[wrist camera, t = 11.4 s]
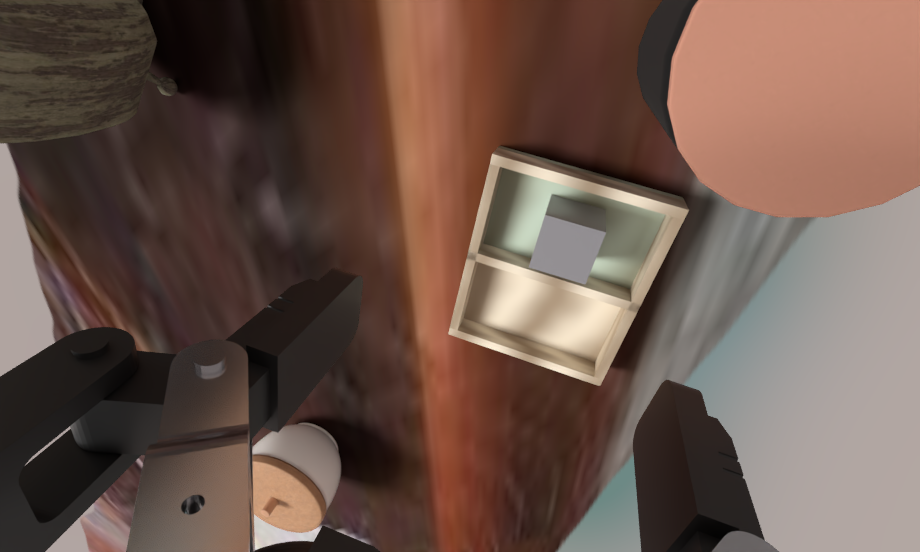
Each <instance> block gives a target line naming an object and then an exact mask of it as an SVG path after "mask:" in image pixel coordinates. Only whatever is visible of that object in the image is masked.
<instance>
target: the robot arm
mask: <svg viewBox="0 0 920 552" xmlns="http://www.w3.org/2000/svg"><path fill="white" fill-rule="evenodd" d="M362 287H363V279H362V277H361V276H359V275H356V274H353V273H350V272H347V271H344V270H341V269H338V268H333V269H331V270H330V271H329V272H328V273H327V274H326V275H324V276H323V277H322V278H321V279H320V280H319V281H315V280H312V279H309V280H306V281H303V282H301V283H298V284H295V285H293V286H291V287H290V288H289V289H287V290H286V291H285V292H284V293H282V294H281V295H280V296H279V298H278V299H275V300H274V301H273V302H271V303H270V304H269V305H268V307H267V308H264V309H263V310H262V311H260V312H259V313H258V314H257V315H256V316H254V317H253V318H252V319H251V320H250V321H248V322H247V323H246V324H245V325H243V326H242V327H241V328H240V329H239V330H237V331H236V332H235V333H234V334H232V335H231V336H230V337H229V338H228V339H226V340H208V341H202V342H199V343H196V344H193V345H191V346H188V347H187V348H185V349H183V350H182V351H181V352H179V353H178V354H165V353H155V352H144V351H136V346H135V341H134V339H133V337H132V336H131V335H130V334H129V333H128V332H126V331H124V330H121V329H117V328H110V327H100V328H91V329H86V330H82V331H79V332H75V333H73V334H70V335H68V336H66V337H64V338H62V339H60V340H59V341H57V342H55V343H54V344H52V345H51V346H49V347H47V348H46V349H44V350H42V351H41V352H39V353H38V354H36V355H35V356H33V357H31V358H30V359H28V360H26V361H25V362H23V363H21V364H20V365H18V366H17V367H15V368H13V369H12V370H10V371H9V372H7V373H6V374H4V375H2V376H1V377H0V552H45V551H46V550H47V549H48V548H49V547H50V546H51V545H52V544H53V543H54V542H55V541H56V540H57V539H58V538H59V537H60V536H61V535H62V534H63V533H64V532H65V531H66V530H67V529H68V528H69V527H70V526H71V525H72V524H73V523H74V522H75V521H76V520H77V519H78V518H79V517H80V516H81V515H82V514H83V513H84V512H85V511H86V510H87V509H88V508H89V507H90V506H91V505H92V504H93V503H94V502H95V501H96V500H97V499H98V498H99V497H100V496H101V495H102V494H103V493H104V492H105V491H106V490H107V489H108V488H109V487H110V486H111V485H112V484H113V483H114V482H115V481H116V480H117V479H118V478H119V477H120V476H121V475H122V474H123V473H124V472H125V471H126V470H127V469H128V468H129V467H130V466H131V465H132V464H133V463H134V462H135V461H136V460H137V459H138V458H139V457H140V456H141V455H145V458H144V462H143V468H142V473H141V478H140V483H139V488H138V493H137V498H136V504H135V509H134V514H133V519H132V524H131V529H130V535H129V540H128V545H127V550H126V552H380V551H379V550H377V549H376V548H375V547H373V546H371V545H369V544H366V543H364V542H361V541H359V540H357V539H354V538H352V537H349V536H347V535H345V534H342V533H340V532H337V531H335V530H333V529H330V528H328V527H325V526H322V528H321V530H320V532H319V533H318V535H317V537H316V539H315V541H314V542H310V541H292V542H285V543H278V544H274V545H270V546H267V547H263V548H260V549H258V550H255V540H254V506H253V449H252V438H253V437H254V436H255V435H256V434H257V433H258V431H259V430H260V429H261V428H262V427H264V428H267V429H269V430H272V431H274V432H277V433H279V431H280V430H281V429H282V428H283V426H284V425H285V424H286V423H287V421H288V420H289V419H290V418H291V416H292V415H293V414H294V413H295V411H296V410H297V409H298V408H299V406H300V405H301V404H302V403H303V401H304V400H305V399H306V398H307V397H308V395H309V394H310V393H311V392H312V390H313V389H314V388H315V387H316V385H317V384H318V383H319V382H320V380H321V379H322V378H323V377H324V375H325V374H326V373H327V372H328V370H329V369H330V368H331V367H332V365H333V364H334V363H335V362H336V360H337V359H338V358H339V357H340V355H341V354H342V353H343V352H344V351H345V349H346V348H347V347H348V346H349V344H350V343H351V341H352V339H353V338H354V335H355V333H356V330H357V327H358V322H359V314H360V305H361V296H362ZM69 426H70V427H71V429H70V430H69V431H67V432H66V433H65V434H64V435H63V436H61V437H60V438H59V439H57V440H56V441H55V442H54V443H53V444H51V445H50V446H49V447H48V448H46V449H45V450H44V451H43V452H42V453H40V454H39V455H38V456H37V457H35V458H34V459H33V460H32V461H30V462H29V463H28V464H27V465H26V466H25V464H26V463H27V462H28V461H29V459H30V458H31V457H32V456H33V455H35V454H36V453H37V452H38V451H40V450H41V449H42V448H43V447H44V446H46V445H47V444H48V443H49V442H51V441H52V440H53V439H54V438H55V437H57V436H58V435H59V434H61V433H62V432H63V431H64V430H66V429H67V428H68V427H69ZM633 452H634V465H635V476H636V489H637V502H638V514H639V526H640V538H641V552H779V551H778V550H777V549H775V548H774V547H773V546H772V545H770V544H769V543H768V542H766V541H765V540H764V537H763V534H762V531H761V528H760V525H759V522H758V519H757V515H756V512H755V509H754V506H753V503H752V500H751V497H750V494H749V491H748V487H747V484H746V481H745V479H743V472H742V469H741V466H740V463H739V462H737V460H738V457H737V454H736V450H735V447H734V445H733V441H732V438H731V437H730V436H729V434H728V433H727V432H726V430H725V429H724V428H723V426H722V425H721V423H720V422H719V421H718V419H717V418H713V417H711V416H708V415H707V411H706V407H705V404H704V400H703V396H702V394H701V392H700V391H699V390H696V389H693V388H690V387H687V386H684V385H681V384H678V383H675V382H672V381H670V380H666V381H664V382H663V383H662V384H661V386H660V387H659V389H658V390H657V392H656V394H655V395H654V397H653V399H652V400H651V402H650V404H649V405H648V407H647V409H646V410H645V412H644V414H643V415H642V417H641V419H640V420H639V422H638V424H637V427H636V430H635V434H634V439H633Z"/></svg>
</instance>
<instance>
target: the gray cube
mask: <svg viewBox="0 0 920 552" xmlns="http://www.w3.org/2000/svg"><path fill="white" fill-rule="evenodd" d="M605 235H606V209H602V208H599V207H595V206H592V205H588V204H585V203H581V202H578V201H574V200H570V199H567V198H563V197H560V196H556V195H553V194H551V197H550V201H549V204H548V207H547V210H546V213H545V216H544V219H543V223H542V226H541V229H540V232H539V235H538V238H537V242H536V245H535V248H534V251H533V255H532V258H531V261H530V264H529V268H532V269H536V270H539V271H542V272H546V273H549V274H552V275H555V276H559V277H562V278H565V279H568V280H572V281H575V282H578V283H582V284H586V282H587V279H588V277H589V274H590V272H591V269H592V267H593V264H594V262H595V259H596V257H597V254H598V252H599V249H600V247H601V244H602V242H603V239H604V237H605Z"/></svg>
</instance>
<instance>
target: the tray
mask: <svg viewBox="0 0 920 552" xmlns="http://www.w3.org/2000/svg"><path fill="white" fill-rule="evenodd" d="M551 194H553V195H556V196H560V197H563V198H567V199H570V200H574V201H578V202H581V203H585V204H588V205H592V206H595V207H599V208H602V209H606V235H605V237H604V239H603V242H602V244H601V247H600V249H599V252H598V254H597V257H596V259H595V262H594V264H593V267H592V269H591V272H590V274H589V277H588V279H587V282H586V284H582V283H578V282H575V281H572V280H568V279H565V278H562V277H559V276H555V275H552V274H549V273H546V272H542V271H539V270H536V269H532V268H529V264H530V261H531V258H532V255H533V251H534V248H535V245H536V242H537V238H538V235H539V232H540V229H541V226H542V223H543V219H544V216H545V213H546V210H547V207H548V204H549V201H550V197H551ZM688 211H689V209H688V207H687V205H686V203H685V201H684V199H683V197H680V196H676V195H673V194H669V193H666V192H662V191H658V190H655V189H651V188H648V187H644V186H641V185H637V184H634V183H630V182H627V181H623V180H619V179H616V178H612V177H609V176H605V175H602V174H598V173H595V172H591V171H588V170H584V169H581V168H577V167H573V166H570V165H566V164H563V163H559V162H556V161H552V160H549V159H545V158H542V157H538V156H534V155H531V154H527V153H524V152H520V151H517V150H513V149H510V148H506V147H503V146H499V147H498V148H497V149H496V150H495V152H494V153H493V154H492V157H491V161H490V166H489V170H488V174H487V178H486V182H485V186H484V190H483V194H482V198H481V202H480V206H479V210H478V215H477V219H476V223H475V227H474V231H473V235H472V239H471V243H470V247H469V251H468V255H467V259H466V264H465V268H464V272H463V276H462V280H461V284H460V288H459V292H458V296H457V300H456V304H455V308H454V313H453V317H452V321H451V325H450V329H449V333H448V334H449V335H452V336H455V337H458V338H461V339H464V340H467V341H470V342H473V343H476V344H478V345H481V346H484V347H487V348H490V349H493V350H496V351H499V352H502V353H505V354H508V355H510V356H513V357H516V358H519V359H522V360H525V361H528V362H531V363H534V364H537V365H540V366H543V367H545V368H548V369H551V370H554V371H557V372H560V373H563V374H566V375H569V376H572V377H575V378H577V379H580V380H583V381H586V382H589V383H592V384H595V385H598V386H600V385H601V383H602V381H603V379H604V377H605V375H606V373H607V371H608V369H609V367H610V365H611V363H612V361H613V359H614V357H615V355H616V353H617V351H618V349H619V347H620V345H621V343H622V341H623V339H624V338H625V336H626V334H627V332H628V330H629V328H630V326H631V324H632V322H633V320H634V318H635V316H636V314H637V312H638V310H639V308H640V306H641V304H642V302H643V300H644V298H645V296H646V294H647V292H648V290H649V288H650V286H651V284H652V282H653V280H654V278H655V276H656V274H657V272H658V270H659V269H660V267H661V265H662V263H663V261H664V259H665V257H666V255H667V253H668V251H669V249H670V247H671V245H672V243H673V241H674V239H675V237H676V235H677V233H678V231H679V229H680V227H681V225H682V223H683V221H684V219H685V217H686V215H687V213H688Z"/></svg>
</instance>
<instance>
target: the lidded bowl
mask: <svg viewBox="0 0 920 552" xmlns="http://www.w3.org/2000/svg"><path fill="white" fill-rule="evenodd" d="M252 449H253V506H254V514H255V515H256V516H257V517H259V518H260V519H262V520H263V521H265V522H267V523H269V524H271V525H273V526H275V527H277V528H280V529H283V530H286V531H291V532H299V533H302V532H309V531H312V530H314V529H316V528H317V527H318V526H319V525H320V524H321V522H322V520H323V518H324V517H325V514H326V511H327V509H328V507H329V506H330V504H331V502H332V500H333V498H334V496H335V493H336V491H337V488H338V484H339V481H340V477H341V460H340V455H339V453H338V445H337V443H336V441H335V439H334V438H333V437H332V435H331V434H330V433H328V432H327V431H326V430H325V429H323V428H321V427H320V426H317V425H315V424H312V423H299V424H297V425H288V426H284V427H283V428H282V429H281V430H280V431H279V433H277V432H274V431H272V432H270V433H269V434H268V435H266V436H265V437H264V438H262V439H261V440H260V441H259V442H258V443H257V444H256V445H254V446H253V448H252Z"/></svg>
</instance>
